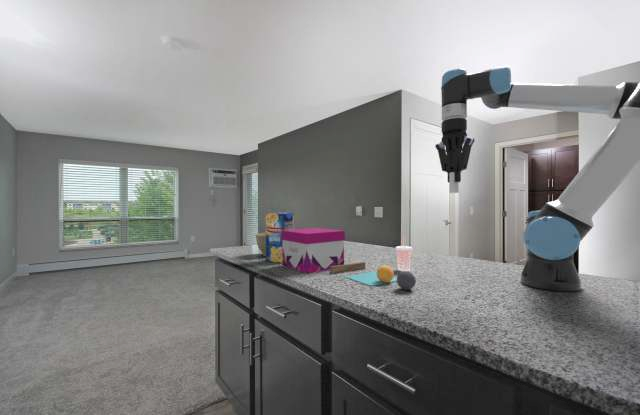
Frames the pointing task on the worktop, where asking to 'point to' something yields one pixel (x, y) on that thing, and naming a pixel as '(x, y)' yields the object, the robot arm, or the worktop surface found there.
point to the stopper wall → (347, 267)
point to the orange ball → (385, 274)
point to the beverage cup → (403, 257)
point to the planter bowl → (261, 242)
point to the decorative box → (312, 249)
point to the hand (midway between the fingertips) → (454, 192)
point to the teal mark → (369, 279)
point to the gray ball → (406, 280)
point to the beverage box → (276, 234)
